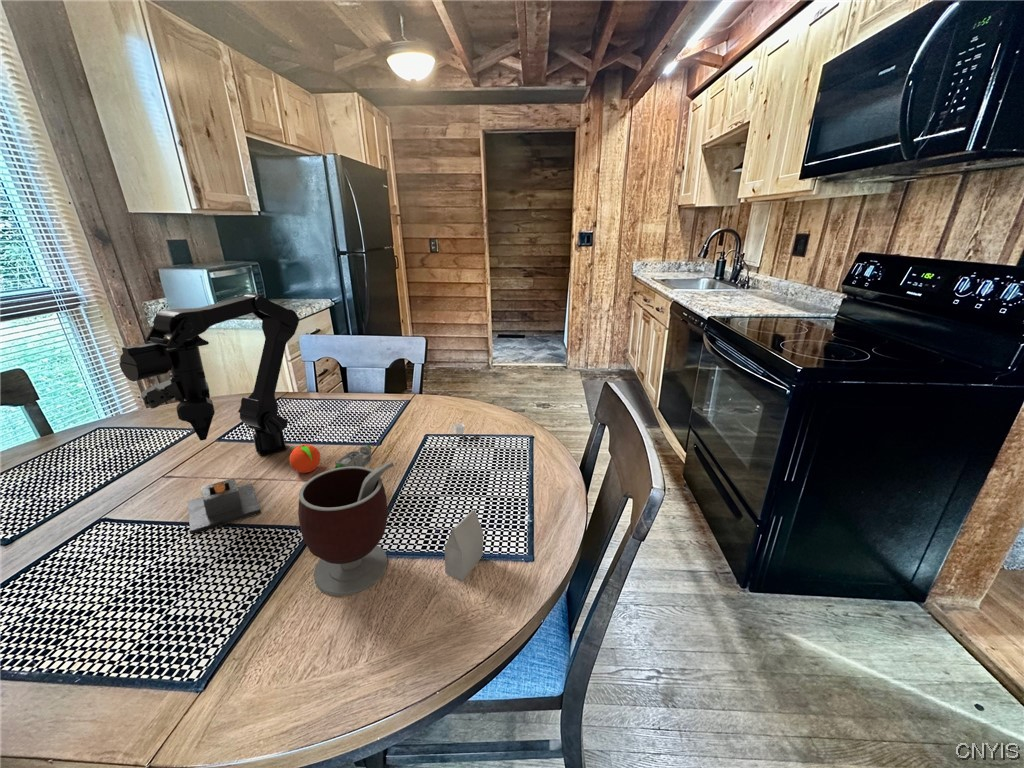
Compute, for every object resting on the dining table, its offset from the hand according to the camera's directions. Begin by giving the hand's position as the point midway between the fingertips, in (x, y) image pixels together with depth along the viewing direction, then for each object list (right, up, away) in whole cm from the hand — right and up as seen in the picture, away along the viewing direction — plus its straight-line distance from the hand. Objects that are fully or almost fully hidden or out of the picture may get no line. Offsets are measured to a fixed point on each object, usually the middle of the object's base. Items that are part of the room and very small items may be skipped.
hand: (202, 432), depth 96 cm
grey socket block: (+10, -16, -7) cm, 20 cm away
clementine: (+21, -11, +8) cm, 25 cm away
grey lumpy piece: (+36, -14, 0) cm, 39 cm away
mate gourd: (+44, -22, -21) cm, 54 cm away
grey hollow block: (+10, -15, -8) cm, 19 cm away
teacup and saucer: (+57, -6, +27) cm, 64 cm away
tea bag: (+63, -22, -20) cm, 70 cm away
